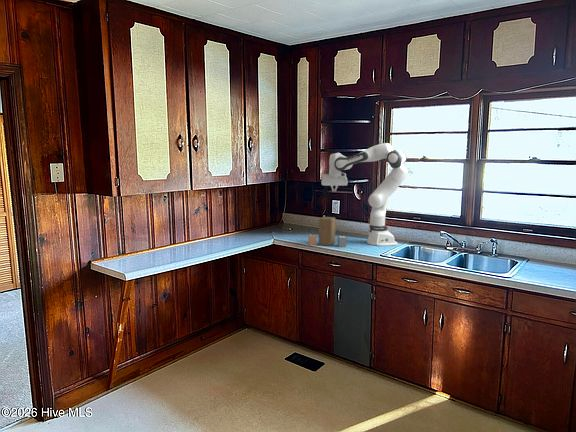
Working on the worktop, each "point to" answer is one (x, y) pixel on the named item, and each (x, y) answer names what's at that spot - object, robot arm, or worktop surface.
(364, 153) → the robot arm
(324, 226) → the wooden block
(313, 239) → the terracotta block
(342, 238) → the slate block
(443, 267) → the worktop surface
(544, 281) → the worktop surface
